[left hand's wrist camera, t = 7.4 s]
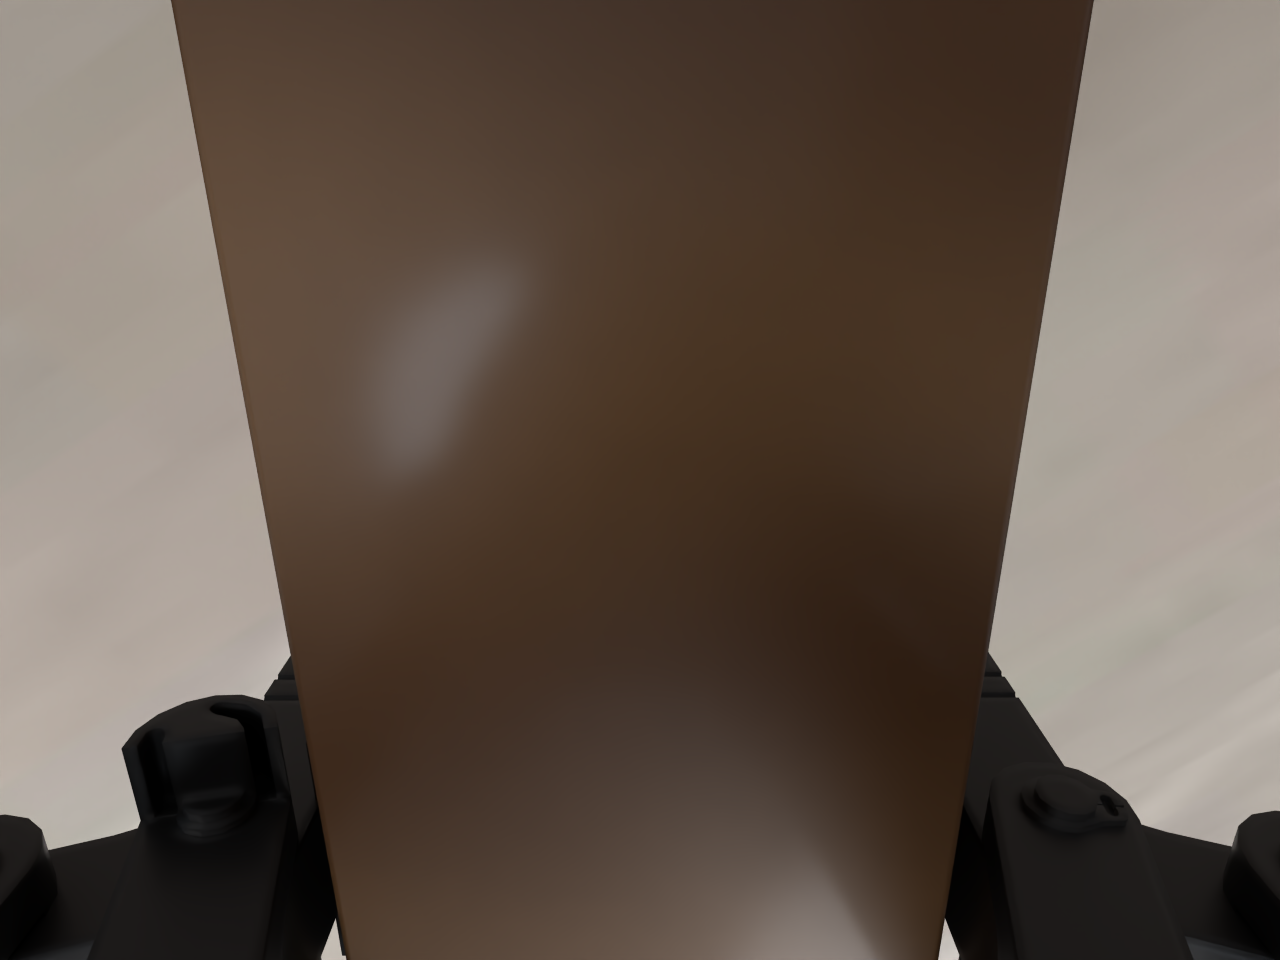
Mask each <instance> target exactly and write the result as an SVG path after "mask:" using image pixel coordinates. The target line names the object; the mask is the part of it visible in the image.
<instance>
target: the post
mask: <svg viewBox="0 0 1280 960" xmlns="http://www.w3.org/2000/svg"><path fill="white" fill-rule="evenodd" d="M171 2H172V8H173V13H174V19H175V24H176V30H177V35H178V41H179V46H180V52H181V57H182V62H183V68H184V73H185V79H186V84H187V90H188V95H189V101H190V106H191V112H192V117H193V123H194V128H195V134H196V139H197V144H198V150H199V155H200V161H201V166H202V172H203V177H204V183H205V188H206V194H207V199H208V205H209V210H210V216H211V221H212V227H213V232H214V237H215V243H216V248H217V254H218V259H219V265H220V270H221V276H222V281H223V287H224V292H225V298H226V303H227V309H228V314H229V320H230V325H231V330H232V336H233V341H234V347H235V352H236V358H237V363H238V369H239V374H240V380H241V385H242V391H243V396H244V402H245V407H246V413H247V418H248V423H249V429H250V434H251V440H252V445H253V451H254V456H255V462H256V467H257V473H258V478H259V484H260V489H261V495H262V500H263V506H264V511H265V516H266V522H267V527H268V533H269V538H270V544H271V549H272V555H273V560H274V566H275V571H276V577H277V582H278V588H279V593H280V599H281V604H282V609H283V615H284V620H285V626H286V631H287V637H288V642H289V648H290V653H291V659H292V664H293V670H294V675H295V681H296V686H297V691H298V697H299V702H300V708H301V713H302V719H303V724H304V730H305V735H306V741H307V746H308V752H309V757H310V763H311V768H312V774H313V779H314V784H315V790H316V795H317V801H318V806H319V812H320V817H321V823H322V828H323V834H324V839H325V845H326V850H327V856H328V861H329V867H330V872H331V877H332V883H333V888H334V894H335V899H336V905H337V910H338V916H339V921H340V927H341V932H342V938H343V943H344V949H345V954H346V960H938V957H939V951H940V944H941V938H942V932H943V926H944V920H945V914H946V908H947V901H948V895H949V889H950V883H951V877H952V871H953V864H954V858H955V852H956V846H957V840H958V834H959V827H960V821H961V815H962V809H963V803H964V797H965V790H966V784H967V778H968V772H969V766H970V760H971V753H972V747H973V741H974V735H975V729H976V723H977V717H978V710H979V704H980V698H981V692H982V686H983V680H984V673H985V667H986V661H987V655H988V649H989V643H990V636H991V630H992V624H993V618H994V612H995V606H996V599H997V593H998V587H999V581H1000V575H1001V569H1002V562H1003V556H1004V550H1005V544H1006V538H1007V532H1008V525H1009V519H1010V513H1011V507H1012V501H1013V495H1014V489H1015V482H1016V476H1017V470H1018V464H1019V458H1020V452H1021V445H1022V439H1023V433H1024V427H1025V421H1026V415H1027V408H1028V402H1029V396H1030V390H1031V384H1032V378H1033V371H1034V365H1035V359H1036V353H1037V347H1038V341H1039V334H1040V328H1041V322H1042V316H1043V310H1044V304H1045V298H1046V291H1047V285H1048V279H1049V273H1050V267H1051V261H1052V254H1053V248H1054V242H1055V236H1056V230H1057V224H1058V217H1059V211H1060V205H1061V199H1062V193H1063V187H1064V180H1065V174H1066V168H1067V162H1068V156H1069V150H1070V143H1071V137H1072V131H1073V125H1074V119H1075V113H1076V107H1077V100H1078V94H1079V88H1080V82H1081V76H1082V70H1083V63H1084V57H1085V51H1086V45H1087V39H1088V33H1089V26H1090V20H1091V14H1092V8H1093V2H1094V0H171Z"/></svg>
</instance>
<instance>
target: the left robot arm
mask: <svg viewBox="0 0 1280 960" xmlns="http://www.w3.org/2000/svg"><path fill="white" fill-rule="evenodd" d="M264 696H265V698H264V701H263V700H260V699H257V698H253V697H249V696H245V695H215V696H211V697H207V698H202V699H198V700H194V701H189V702H186V703H183V704H181V705H179V706H176V707H174V708H172V709H169V710H167V711H165V712H162V713H160V714H158V715H157V716H155V717H154V718H152V719H151V720H150V721H148V722H147V723H145V724H144V725H142V726H141V727H140V728H138V729H137V730H135V732H134V733H133V734H132V736H131V737H130V738H129V739H128V741H127V742H126V743H125V745H124V746H123V747H122V752H123V756H124V760H125V764H126V767H127V771H128V775H129V779H130V782H131V786H132V790H133V794H134V797H135V801H136V805H137V809H138V812H139V816H140V820H141V822H140V824H139V827H138V828H137V829H134V830H131V831H127V832H124V833H121V834H117V835H114V836H109V837H105V838H101V839H96V840H92V841H87V842H83V843H79V844H74V845H70V846H65V847H61V848H56V849H52V850H48V848H47V845H46V842H45V839H44V836H43V832H42V830H41V829H40V828H39V827H38V826H37V825H36V824H34V823H33V822H32V821H31V820H30V819H29V818H23V817H17V816H11V815H0V960H321V955H322V952H323V950H324V947H325V945H326V942H327V939H328V937H329V934H330V932H331V929H332V926H333V924H334V921H335V919H336V922H337V928H338V934H339V940H340V946H341V951H342V956H346V954H345V949H344V943H343V938H342V932H341V927H340V921H339V916H338V910H337V905H336V899H335V894H334V888H333V883H332V877H331V872H330V867H329V861H328V856H327V850H326V845H325V839H324V834H323V828H322V823H321V817H320V812H319V806H318V801H317V795H316V790H315V784H314V779H313V774H312V768H311V763H310V757H309V752H308V746H307V741H306V735H305V730H304V724H303V719H302V713H301V708H300V702H299V697H298V691H297V686H296V681H295V675H294V670H293V664H292V659H291V656H290V658H289V659H288V661H287V662H286V664H285V665H284V667H283V668H282V670H281V671H280V673H279V674H278V680H274V682H273V683H272V685H271V686H270V688H269V689H268V691H267V692H266V694H265V695H264ZM945 919H946V922H947V924H948V927H949V929H950V932H951V934H952V937H953V940H954V942H955V945H956V947H957V950H958V953H959V960H1280V811H1270V812H1264V813H1258V814H1252V815H1251V816H1250V817H1248V818H1247V819H1246V820H1245V821H1244V822H1243V823H1241V824H1240V825H1239V826H1238V829H1237V832H1236V836H1235V839H1234V842H1233V845H1232V847H1231V846H1226V845H1222V844H1217V843H1213V842H1209V841H1204V840H1200V839H1195V838H1191V837H1186V836H1182V835H1177V834H1173V833H1168V832H1165V831H1161V830H1158V829H1154V828H1151V827H1148V826H1144V825H1141V823H1140V820H1139V818H1138V817H1137V815H1136V814H1135V812H1134V811H1133V809H1132V808H1131V806H1130V805H1129V803H1128V802H1127V800H1125V799H1124V798H1123V797H1122V796H1120V795H1119V794H1118V793H1117V792H1116V791H1114V790H1113V789H1112V788H1111V787H1109V786H1108V785H1107V784H1106V783H1104V782H1102V781H1100V780H1098V779H1096V778H1094V777H1092V776H1090V775H1088V774H1086V773H1084V772H1082V771H1080V770H1077V769H1073V768H1069V767H1065V766H1064V765H1063V763H1062V762H1061V760H1060V759H1059V757H1058V756H1057V754H1056V753H1055V751H1054V750H1053V748H1052V747H1051V745H1050V744H1049V742H1048V741H1047V739H1046V738H1045V736H1044V735H1043V733H1042V732H1041V730H1040V729H1039V727H1038V726H1037V724H1036V723H1035V721H1034V720H1033V718H1032V717H1031V715H1030V714H1029V712H1028V711H1027V709H1026V708H1025V706H1024V705H1023V703H1022V702H1021V700H1020V699H1019V698H1016V697H1015V691H1014V690H1013V688H1012V687H1011V685H1010V684H1009V682H1008V681H1007V679H1006V678H1005V677H1002V675H1001V670H1000V669H999V667H998V666H997V664H996V663H995V661H994V660H993V658H992V657H991V655H990V654H989V652H988V655H987V661H986V667H985V673H984V680H983V686H982V692H981V698H980V704H979V710H978V717H977V723H976V729H975V735H974V741H973V747H972V753H971V760H970V766H969V772H968V778H967V784H966V790H965V797H964V803H963V809H962V815H961V821H960V827H959V834H958V840H957V846H956V852H955V858H954V864H953V871H952V877H951V883H950V889H949V895H948V901H947V908H946V914H945Z"/></svg>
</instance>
